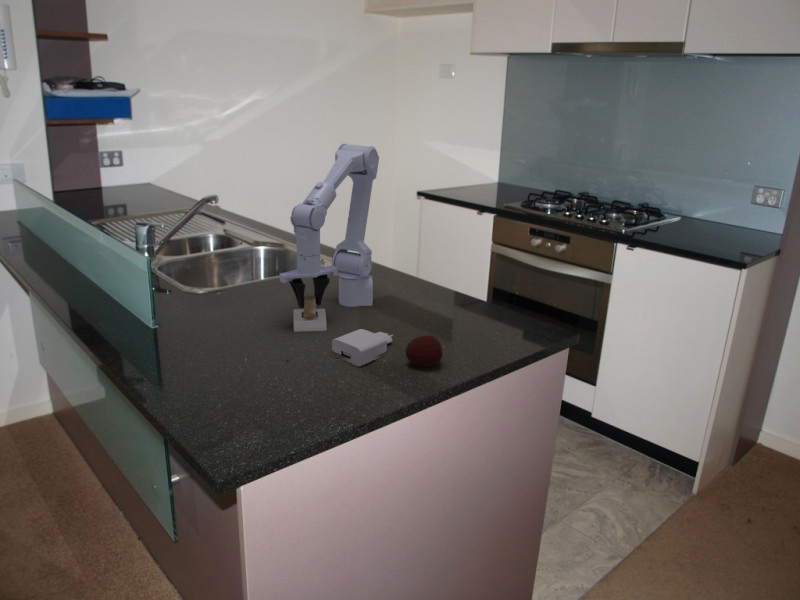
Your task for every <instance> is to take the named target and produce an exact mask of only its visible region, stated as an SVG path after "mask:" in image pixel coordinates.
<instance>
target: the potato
mask: <svg viewBox="0 0 800 600" xmlns="http://www.w3.org/2000/svg"><path fill="white" fill-rule="evenodd" d="M405 356H406V358H407V360H408V361H409V362H410V363H412V364H414V365H416V366H418V367H425V368H426V367H432V366H435V365H437V364H439V363H440V362H441V360H442V357H443V347H442V345H441V342H440V340H439V339H438V338H436V337H435V336H433V335H428V334H427V335H421V336H418V337H416V338H414V339H412V340H411V341H410V342H408V344H407V346H406V348H405Z"/></svg>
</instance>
